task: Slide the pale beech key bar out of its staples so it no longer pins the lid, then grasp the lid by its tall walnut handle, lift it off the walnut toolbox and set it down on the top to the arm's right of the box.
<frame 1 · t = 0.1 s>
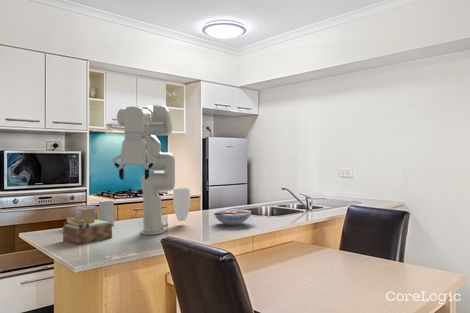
hand: (134, 179, 146), 31 cm above the table, tool pointing down, fingers open, 9 cm apart
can: (87, 227, 206), on the table
skincare box: (106, 225, 211), on the table
ramen bowl: (232, 224, 213), on the table
key: (76, 221, 170), point 10 cm above the table, slide at 0.0 cm
lid: (87, 225, 175), point 7 cm above the table, touching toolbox
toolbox: (87, 239, 175), on the table
cup: (181, 225, 211), on the table
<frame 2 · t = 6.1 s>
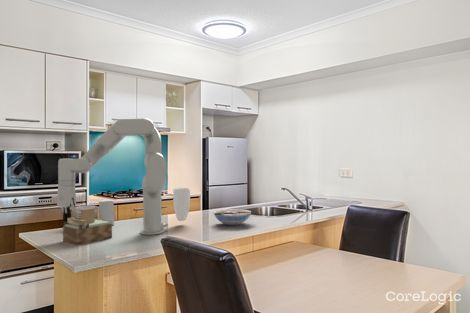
hand: (67, 221, 175), 9 cm above the table, tool pointing down, fingers closed
key: (76, 221, 170), point 10 cm above the table, slide at 0.6 cm, touching gripper
everything else where it was.
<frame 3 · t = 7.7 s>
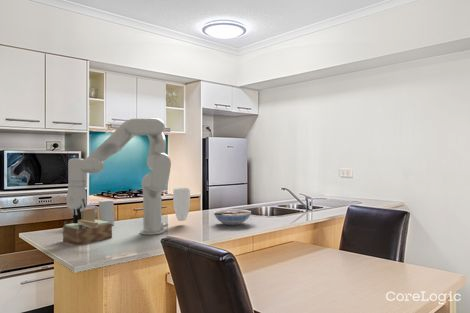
hand: (77, 223, 170), 9 cm above the table, tool pointing down, fingers closed
key: (87, 223, 165), point 10 cm above the table, slide at 9.7 cm, touching gripper
everything else where it was.
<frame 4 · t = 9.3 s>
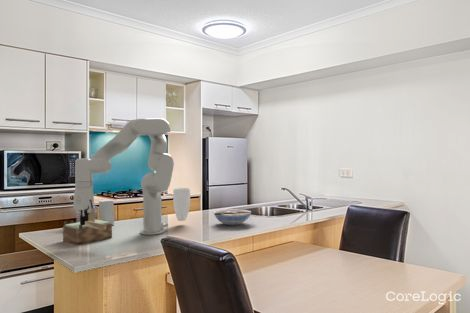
hand: (84, 224, 166), 9 cm above the table, tool pointing down, fingers closed
key: (95, 225, 161), point 10 cm above the table, slide at 15.7 cm, touching gripper
everything else where it was.
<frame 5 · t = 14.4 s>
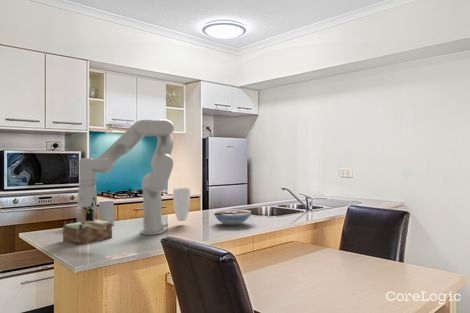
hand: (87, 220, 175), 9 cm above the table, tool pointing down, fingers closed on lid
key: (95, 225, 161), point 10 cm above the table, slide at 15.8 cm
lid: (87, 225, 175), point 7 cm above the table, touching gripper
everything else where it was.
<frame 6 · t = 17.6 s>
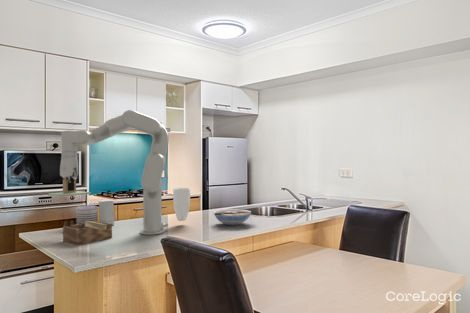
hand: (69, 190, 185), 23 cm above the table, tool pointing down, fingers closed on lid
lid: (69, 194, 185), point 21 cm above the table, touching gripper
everything else where it was.
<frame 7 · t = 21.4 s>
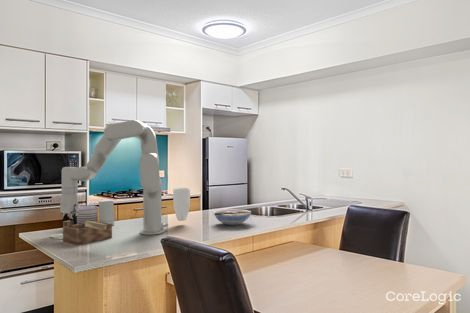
hand: (69, 225, 185), 5 cm above the table, tool pointing down, fingers open, 6 cm apart
lid: (70, 236, 185), on the table
everything else where it was.
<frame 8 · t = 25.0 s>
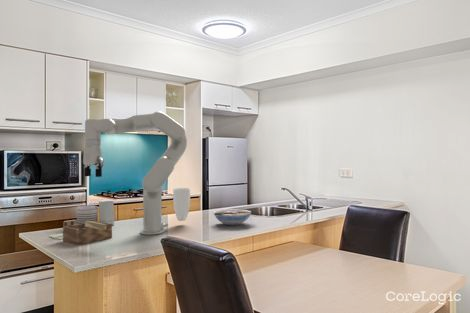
hand: (93, 176, 185), 30 cm above the table, tool pointing down, fingers open, 9 cm apart
nothing on the table moved.
at the end: key slide at 15.8 cm; lid inside the target area (0.1 cm from its centre), on the table; lid tilted 0° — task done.
